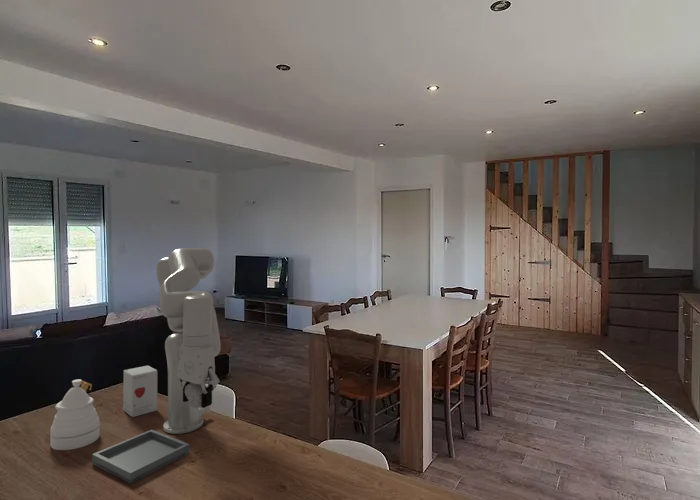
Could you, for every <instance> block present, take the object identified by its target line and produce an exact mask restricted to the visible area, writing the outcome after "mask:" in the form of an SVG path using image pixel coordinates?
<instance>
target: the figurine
mask: <svg viewBox="0 0 700 500" xmlns="http://www.w3.org/2000/svg"><path fill="white" fill-rule="evenodd" d="M79 387H80V388H82V389H83V390H84V391H85V392H86V393H87V390H89V391H91V390H92V387H93V384H92V383H89V382H87V381H85V380H82V382H81V384H80V386H79Z"/></svg>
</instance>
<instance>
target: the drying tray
mask: <svg viewBox="0 0 700 500" xmlns="http://www.w3.org/2000/svg"><path fill="white" fill-rule="evenodd" d="M188 455H190V444H189V443H188V442H186V441H183V440H180V439H177V438H174V437H172V436H169V435H167V434H165V433H161V432H160V431H156V430H154V429H150V430H146V431H145V432H142V433H140V434H137V435H135V436H133V437H131V438H128V439H126V440H122V441H121V442H117V443H116V444H113V445H112V446H108V447H106V448H104V449H101V450H99V451H96V452H94V453H92V456H91V457H92V458H91V462H92V463H91V464H92V465H93V466H95V467H97V468H99V469H101V470H103V471H105V472H107V473H108V474H111V475H112V476H115V477H116V478H118V479H120V480H122V481H124V482H126V483H127V484H129V485H130V484H133V483H135V482H137V481H139V480H141V479H143V478H144V477H147V476H149V475H151V474H152V473H154V472H157V471H158V470H160V469H162V468H165V467H166V466H168V465H170V464H172V463H174V462H176V461H178V460H180V459H181V458H184V457H186V456H188Z"/></svg>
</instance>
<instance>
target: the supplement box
mask: <svg viewBox="0 0 700 500" xmlns="http://www.w3.org/2000/svg"><path fill="white" fill-rule="evenodd" d="M122 388H123V394H122V397H123V400H122V402H123V403H122V405H123V406H122V407H123V409H122V410H123V412H125V413H126V414H128V415H129V416H130V417H131V418H135V417H138V416H142V415H145V414H148V413H153V412H156V411H158V370H157V369H156V368H153V367H151V366H150V365H143V366H139V367H134V368H128V369H123V387H122Z"/></svg>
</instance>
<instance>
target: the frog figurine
mask: <svg viewBox="0 0 700 500" xmlns="http://www.w3.org/2000/svg"><path fill="white" fill-rule="evenodd" d="M207 387H208V386H206V388H207ZM202 393H203V390H202V387H201V385H198V384H194V383H190V384H188V385H187V386H186V387H185V395H186V397H187V399H188V400H189V403H190V405H191V406H193V407H195V408H199V407H201V394H202Z"/></svg>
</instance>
